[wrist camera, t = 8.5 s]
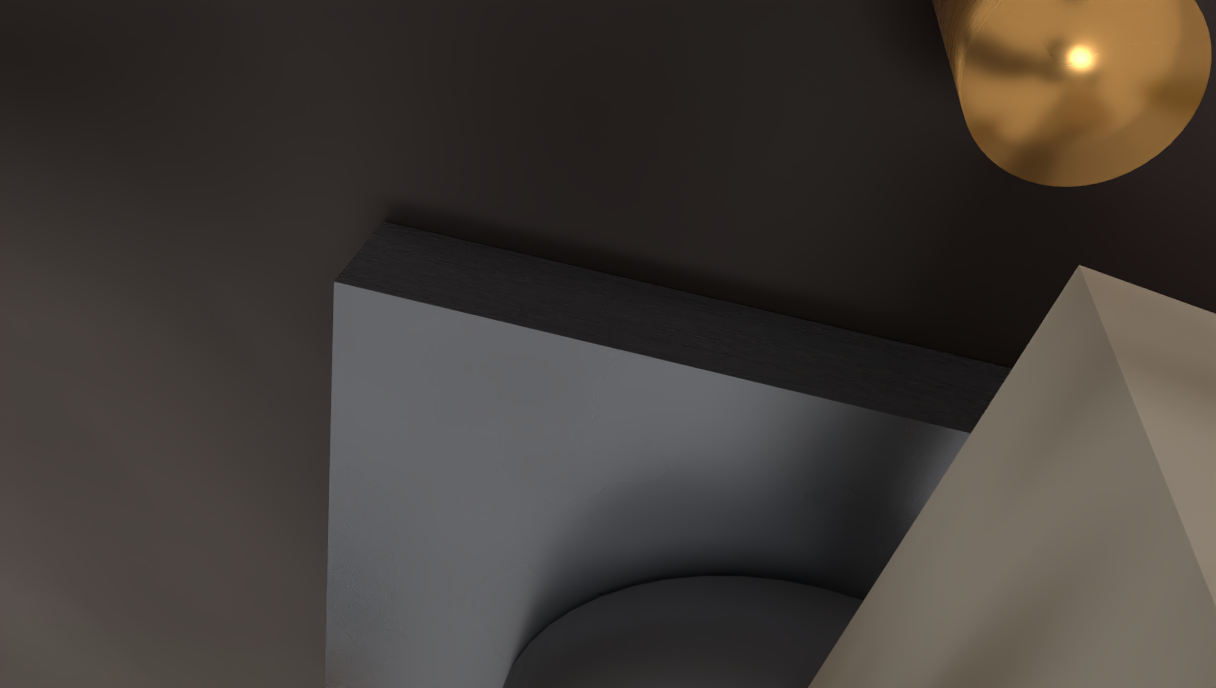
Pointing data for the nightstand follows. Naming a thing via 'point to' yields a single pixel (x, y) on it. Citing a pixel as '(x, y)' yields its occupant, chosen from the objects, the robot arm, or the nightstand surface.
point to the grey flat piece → (677, 389)
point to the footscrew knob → (984, 544)
